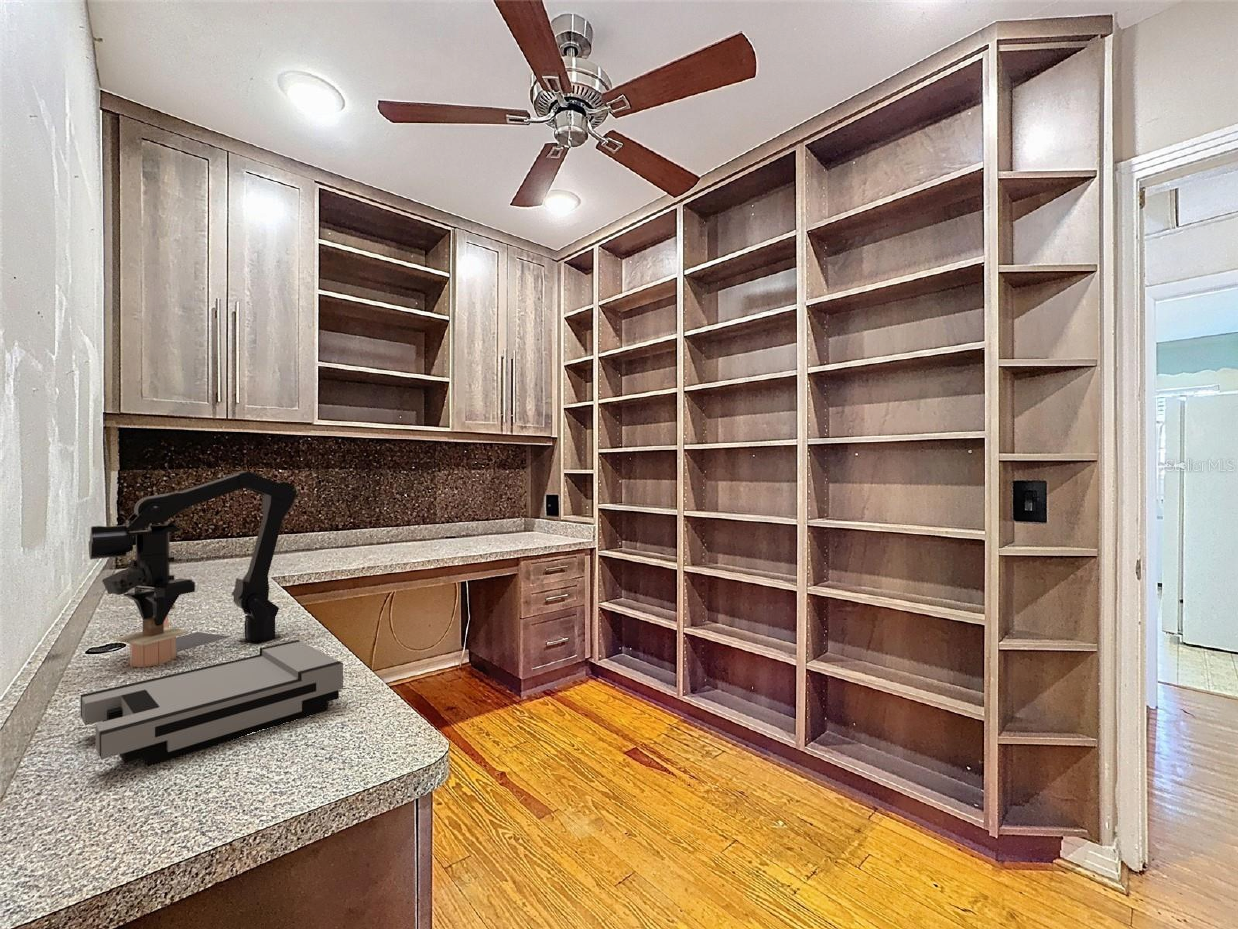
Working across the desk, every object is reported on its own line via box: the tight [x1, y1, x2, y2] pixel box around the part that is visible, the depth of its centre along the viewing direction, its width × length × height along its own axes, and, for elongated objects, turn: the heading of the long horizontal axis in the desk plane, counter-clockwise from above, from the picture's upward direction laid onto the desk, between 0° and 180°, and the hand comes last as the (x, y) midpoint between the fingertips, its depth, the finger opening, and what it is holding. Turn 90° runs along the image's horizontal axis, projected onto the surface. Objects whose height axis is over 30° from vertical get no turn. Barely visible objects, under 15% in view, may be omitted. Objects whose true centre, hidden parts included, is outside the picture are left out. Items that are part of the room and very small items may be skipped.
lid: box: [115, 617, 190, 645], centre depth 125 cm, size 9×9×4 cm
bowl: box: [129, 637, 177, 668], centre depth 125 cm, size 8×8×6 cm
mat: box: [176, 631, 231, 652], centre depth 139 cm, size 12×12×1 cm
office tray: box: [80, 639, 344, 768], centre depth 96 cm, size 21×32×8 cm, turn 139°
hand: (153, 624), depth 125 cm, fingers open, 3 cm apart
